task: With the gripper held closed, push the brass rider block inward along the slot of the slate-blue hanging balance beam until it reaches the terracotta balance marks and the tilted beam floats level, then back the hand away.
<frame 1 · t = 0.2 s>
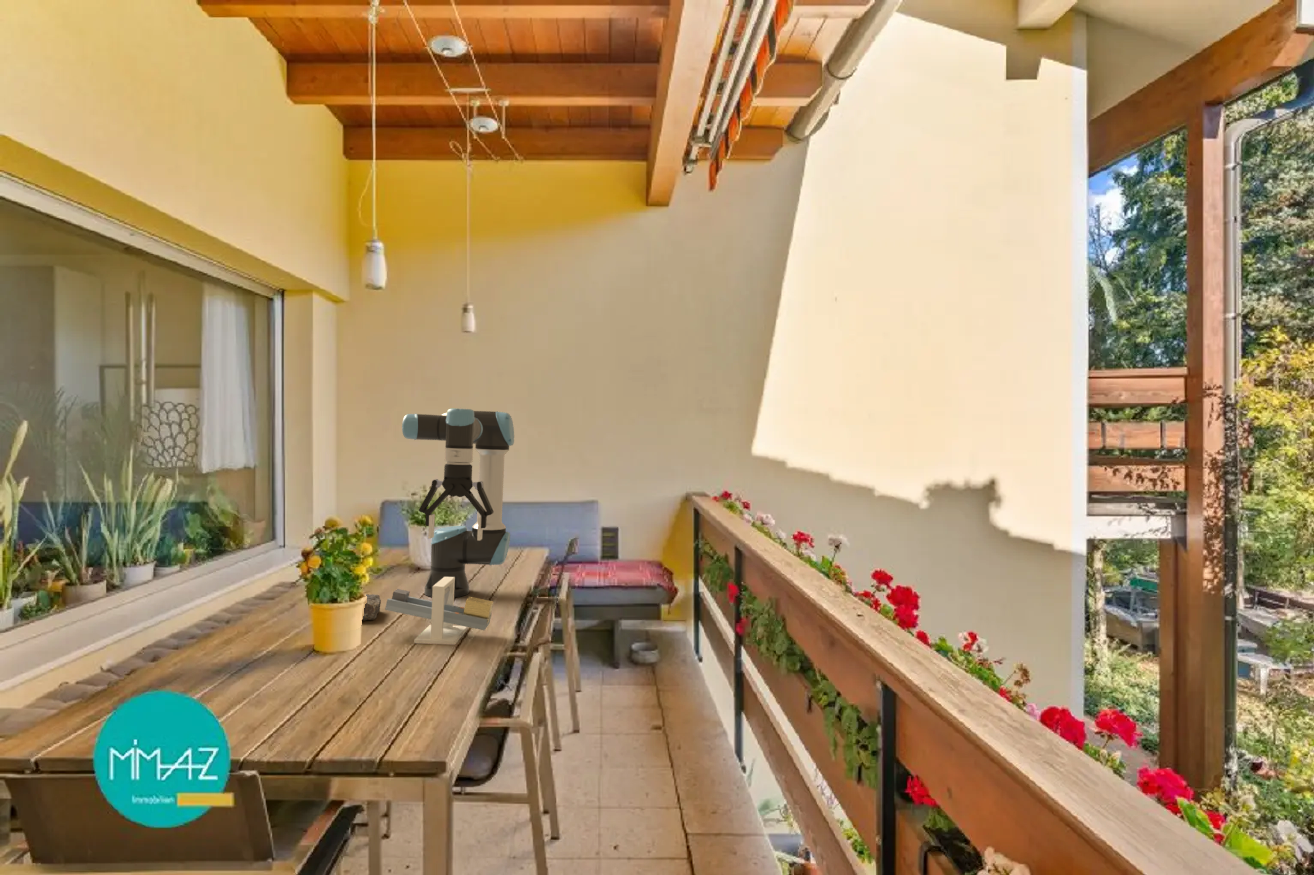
hand: (455, 538, 193), 28 cm above the table, fingers open, 13 cm apart
beam: (441, 603, 194), point 9 cm above the table, hinge at -10.0°, touching rider
rock: (359, 617, 209), on the table
stand: (441, 636, 194), on the table
rider: (475, 619, 194), point 5 cm above the table, tilted 10°, touching beam
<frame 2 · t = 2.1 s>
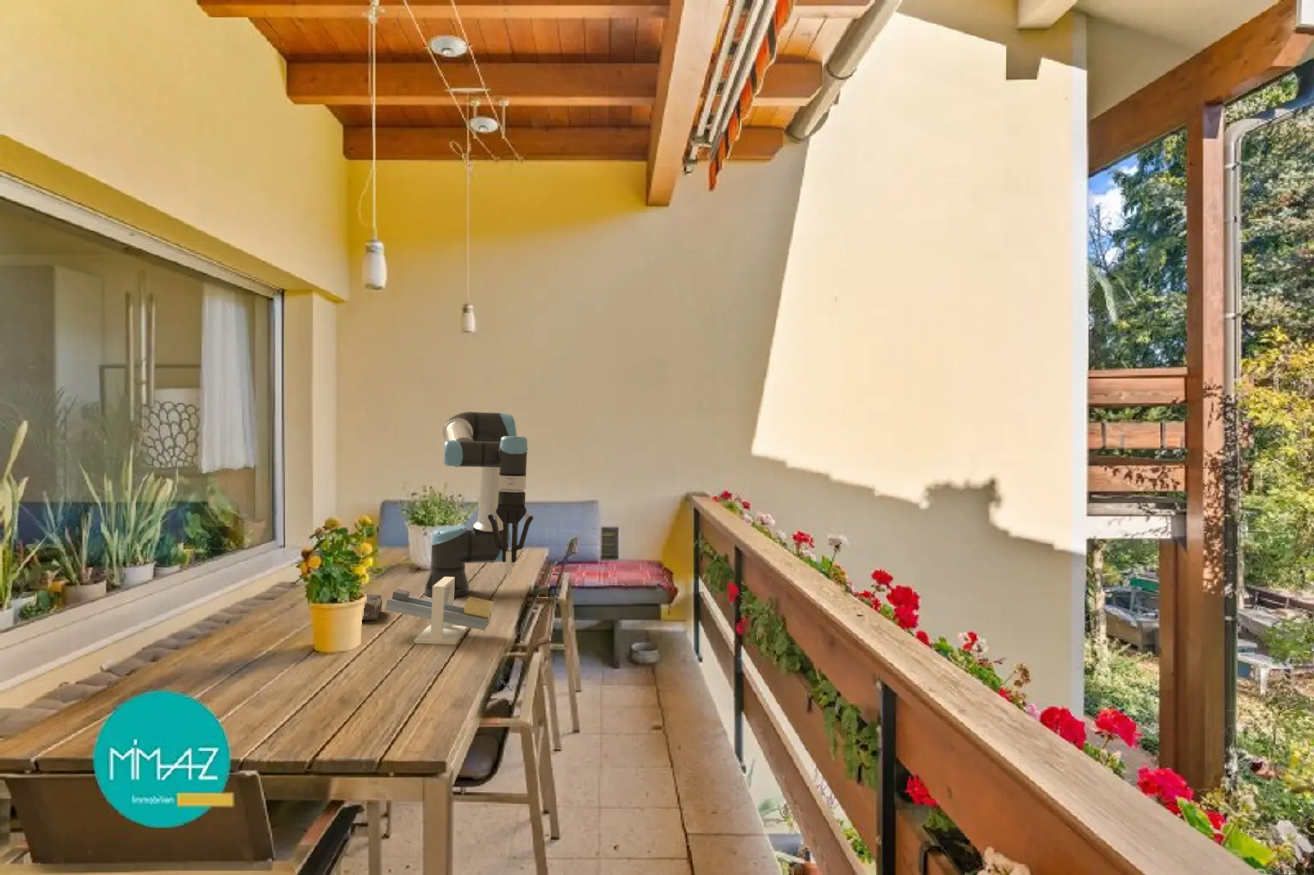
hand: (508, 573, 194), 18 cm above the table, fingers closed
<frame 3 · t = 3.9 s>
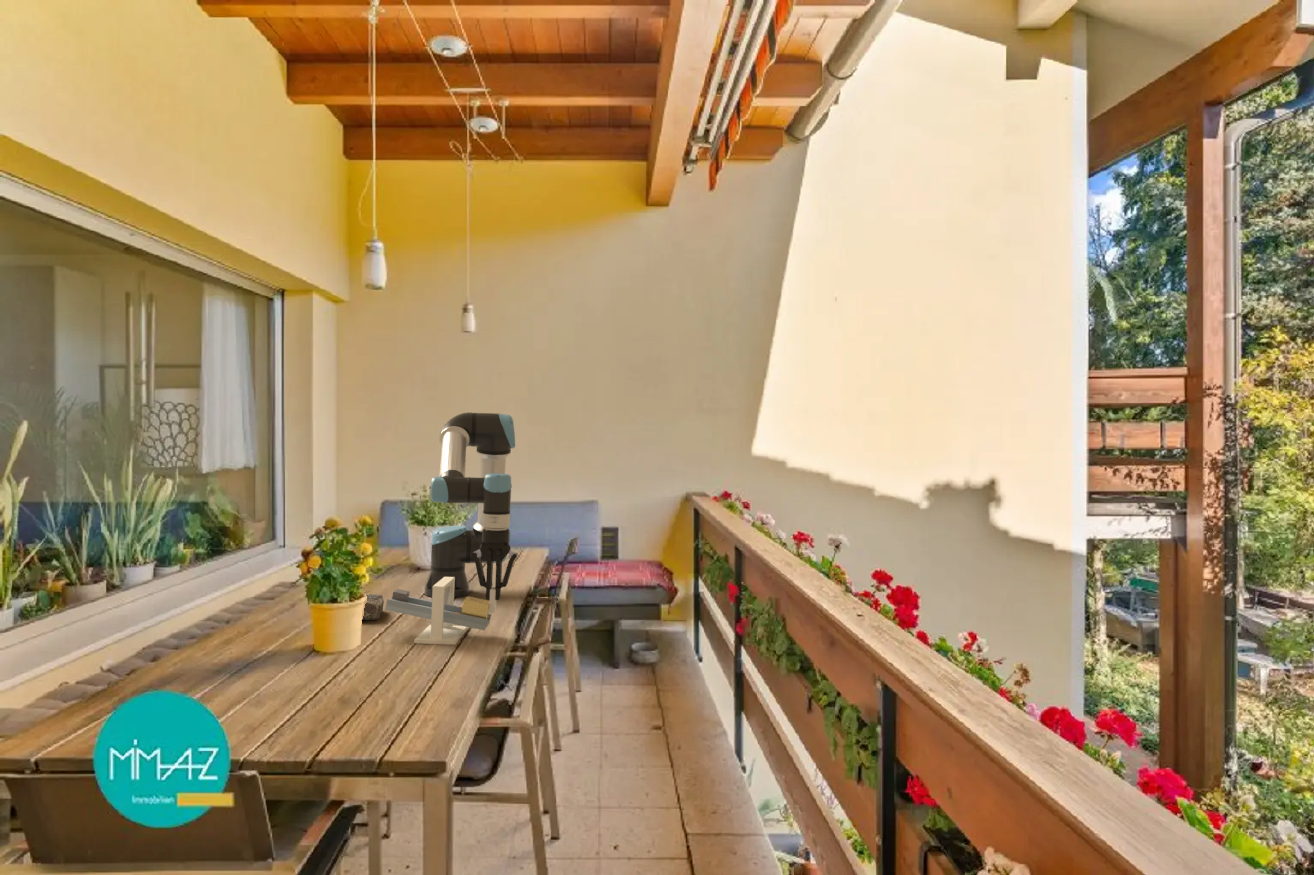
hand: (492, 611, 194), 8 cm above the table, fingers closed
rider: (474, 619, 194), point 5 cm above the table, tilted 10°, touching beam, gripper
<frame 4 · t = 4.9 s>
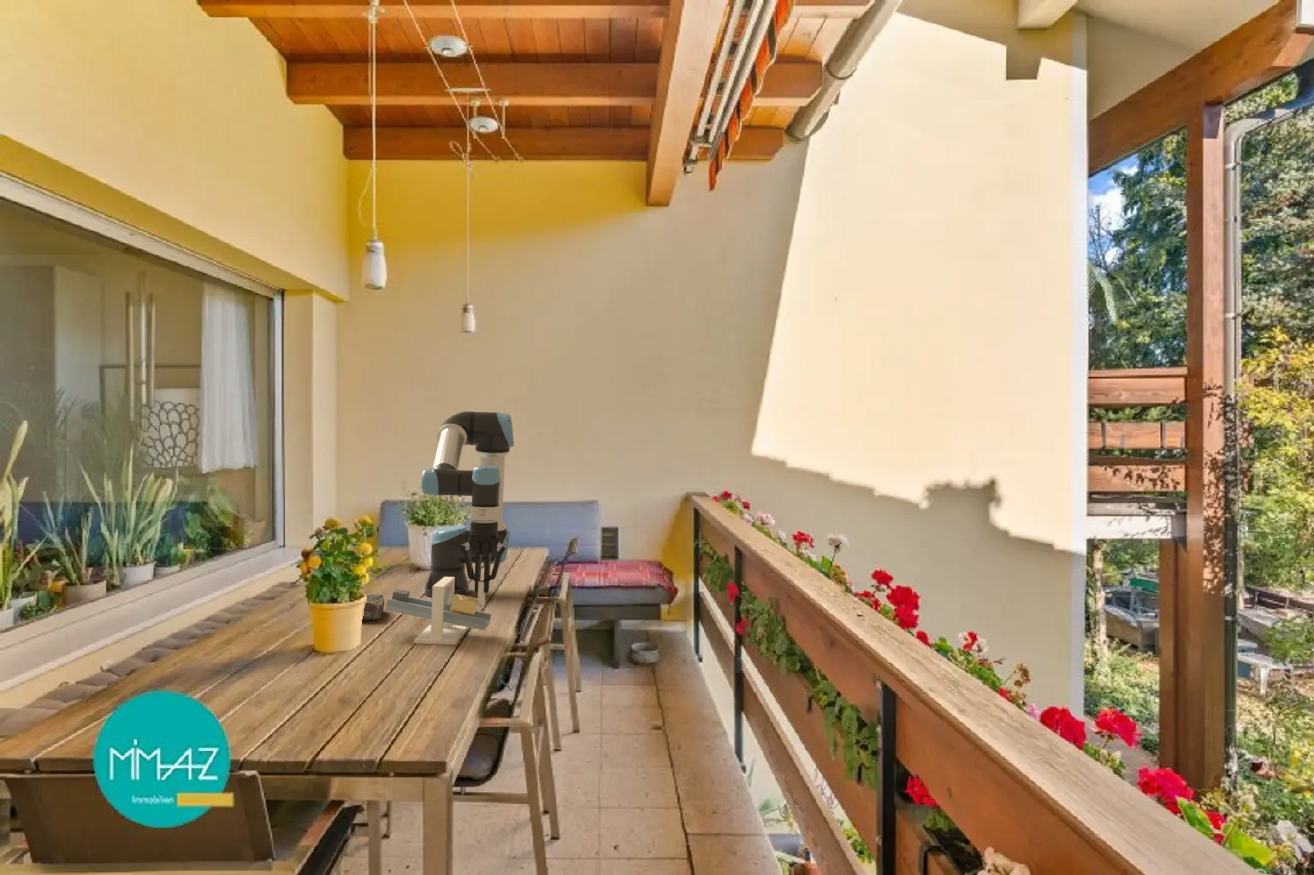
hand: (481, 603, 194), 10 cm above the table, fingers closed
rider: (462, 616, 194), point 6 cm above the table, tilted 10°, touching beam, gripper
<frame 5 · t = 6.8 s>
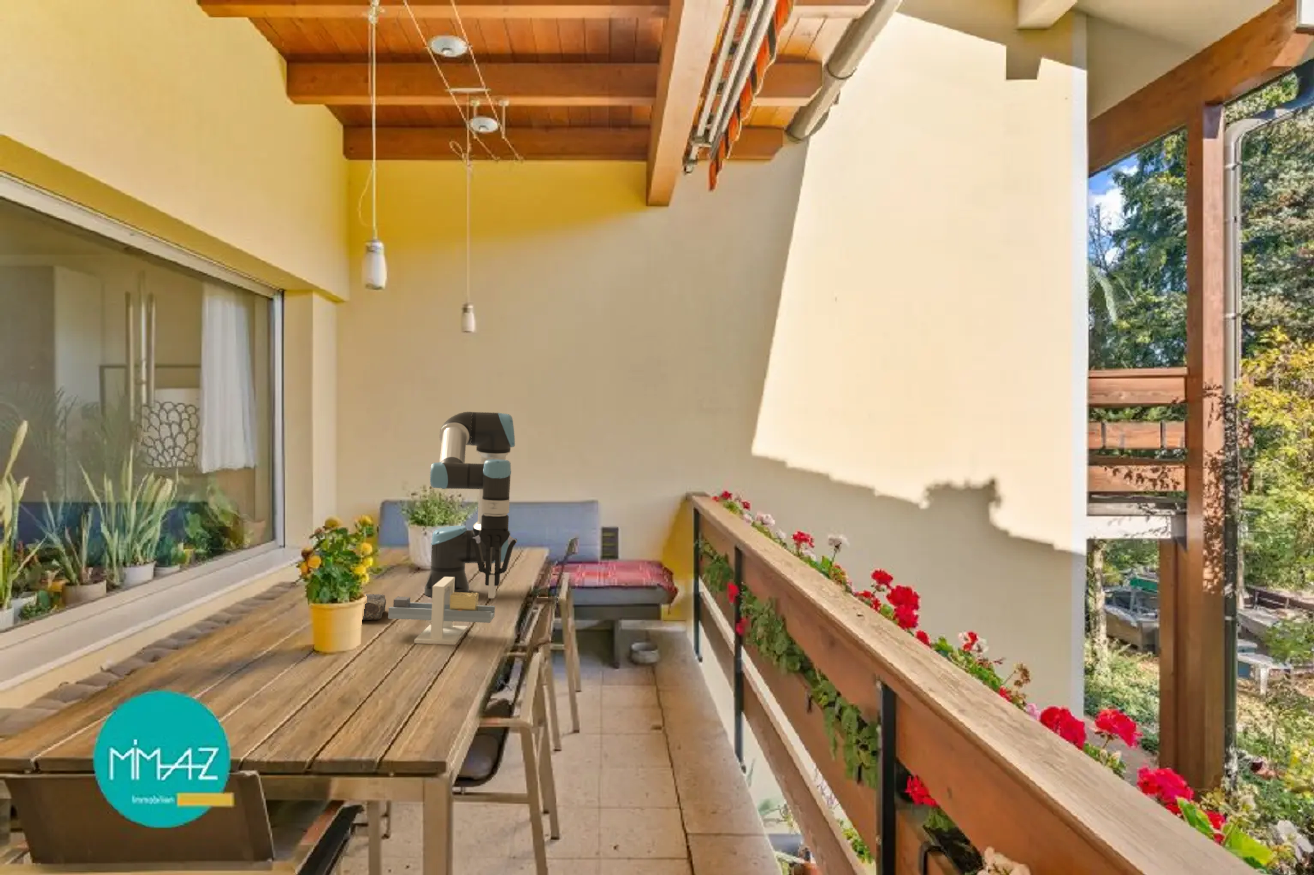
hand: (491, 596, 195), 12 cm above the table, fingers closed
beam: (443, 603, 194), point 9 cm above the table, hinge at -0.6°, touching rider
rider: (463, 613, 194), point 7 cm above the table, touching beam
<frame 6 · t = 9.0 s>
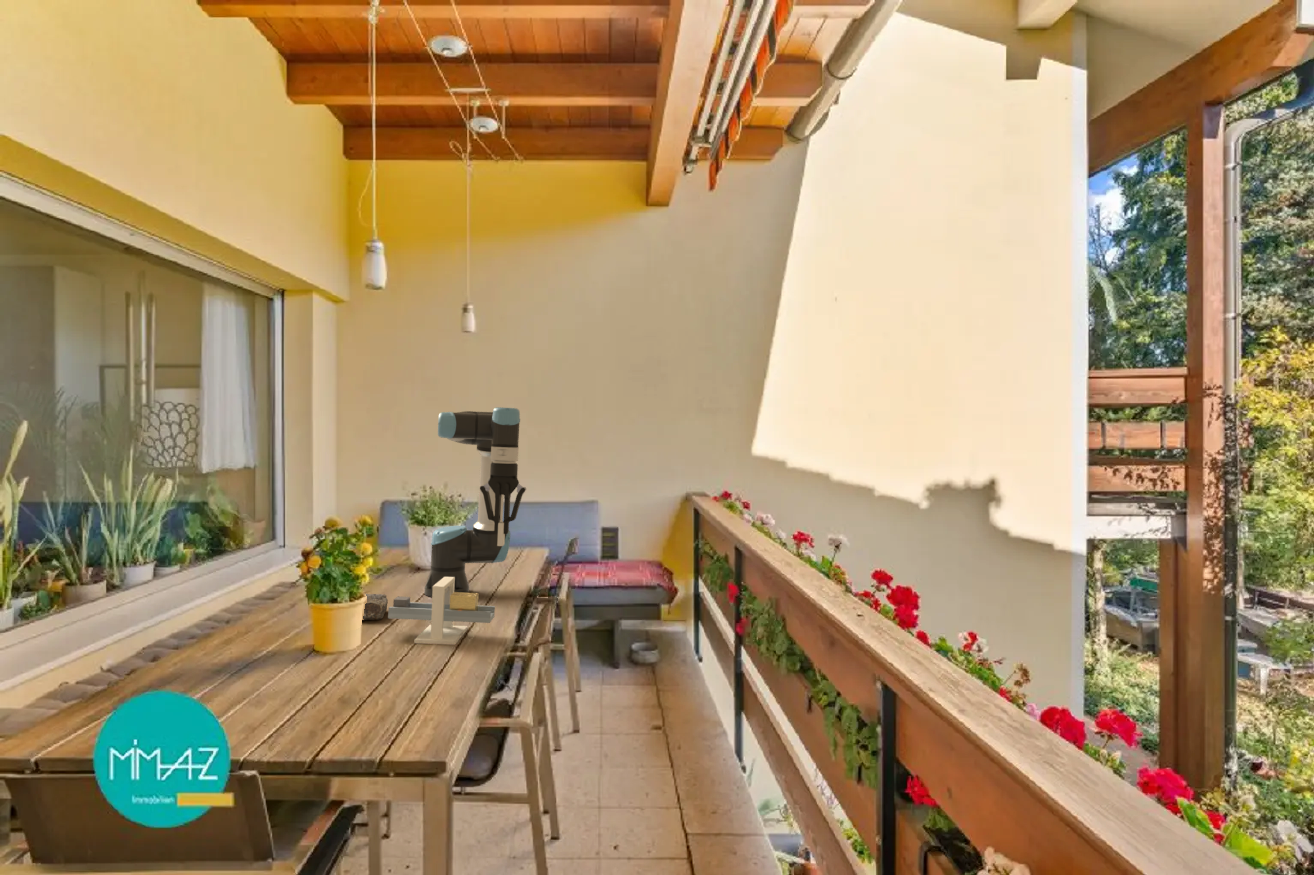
hand: (500, 545, 194), 26 cm above the table, fingers closed
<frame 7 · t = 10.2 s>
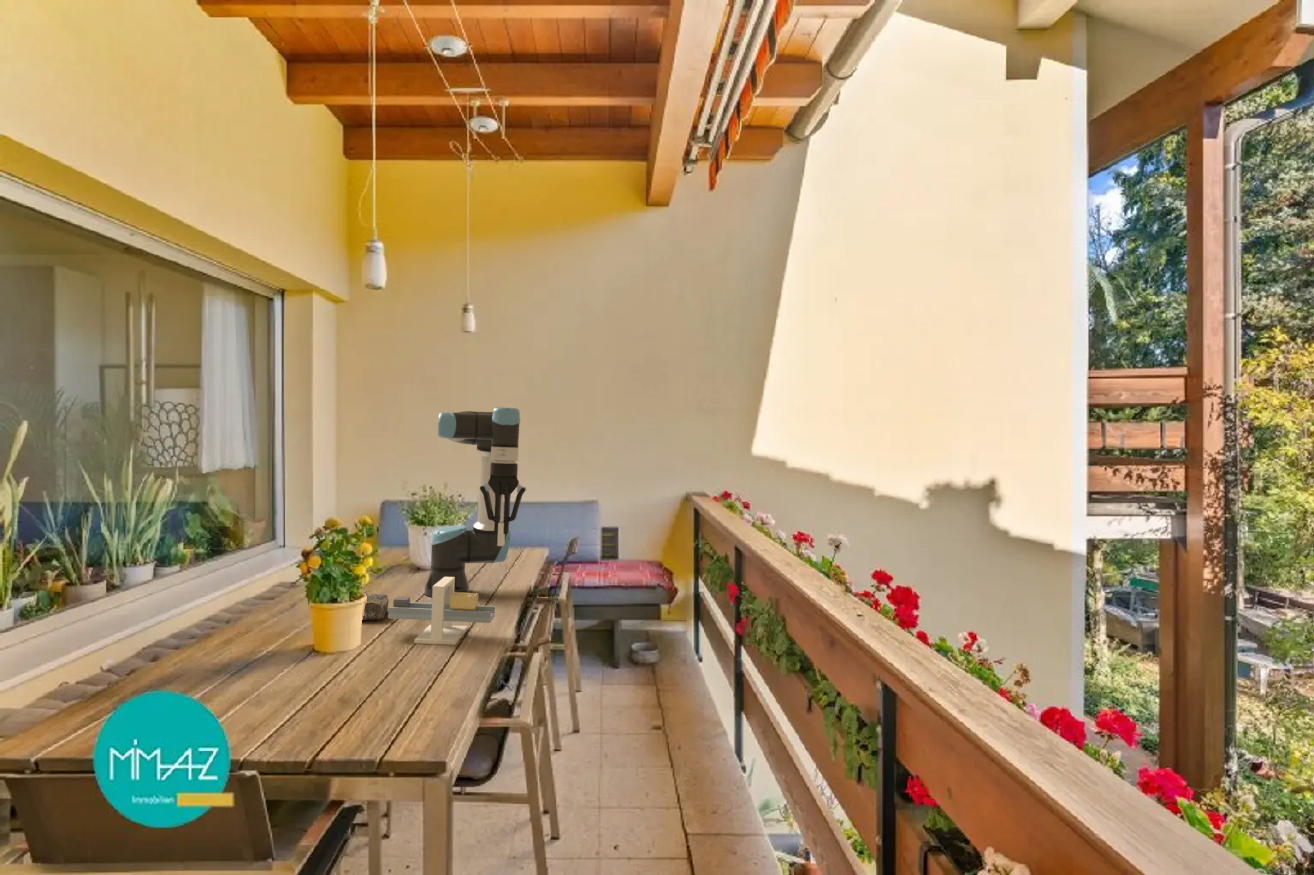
hand: (500, 545, 194), 26 cm above the table, fingers closed
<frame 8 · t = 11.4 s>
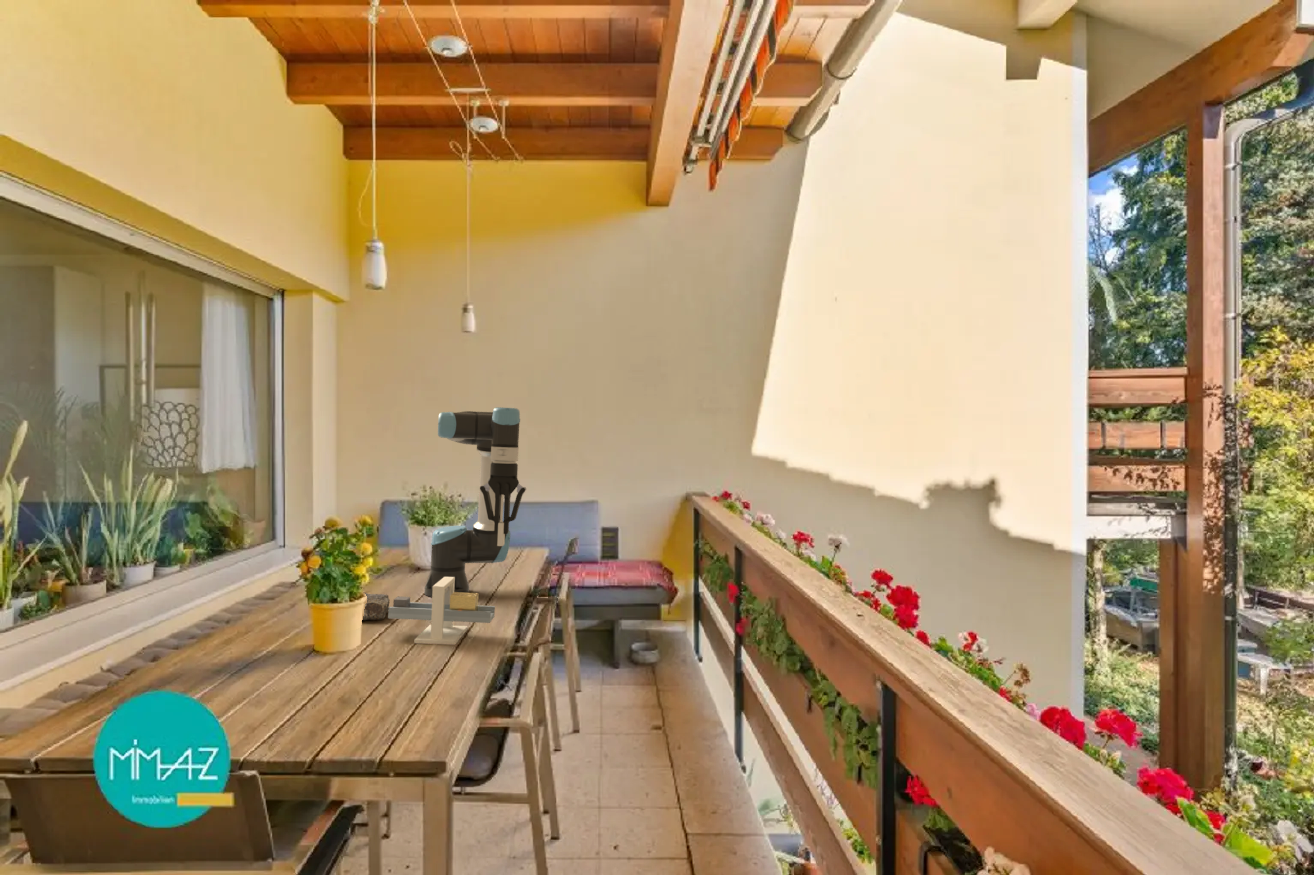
hand: (500, 545, 194), 26 cm above the table, fingers closed
at the end: beam at -1° (first picture: -10°); rider 0.4 cm from the target spot under the beam, point -5.9 cm above the beam's base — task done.
